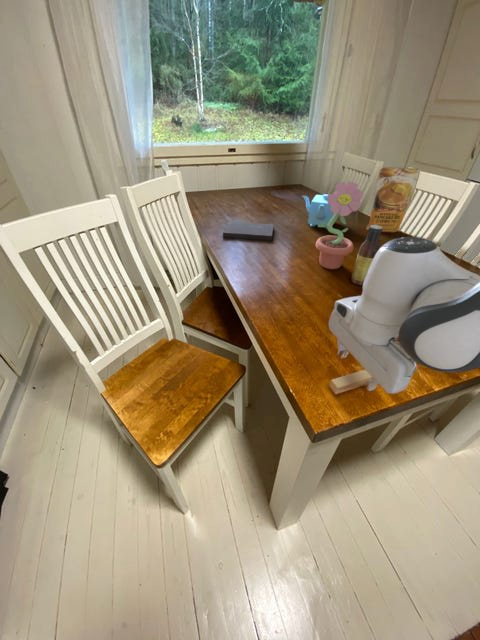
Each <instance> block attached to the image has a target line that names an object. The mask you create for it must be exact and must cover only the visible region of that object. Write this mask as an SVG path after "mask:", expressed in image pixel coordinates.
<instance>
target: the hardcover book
mask: <svg viewBox="0 0 480 640" xmlns="http://www.w3.org/2000/svg"><path fill="white" fill-rule="evenodd" d="M274 227H275V224H274V223H259V222H245V221H244V222H243V221H228V222H227V225H226V227H225V229H224V230H223V232H222V237H223V238H229V239H230V238H231V239H245V240H258V241H273V234H274Z"/></svg>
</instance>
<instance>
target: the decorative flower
mask: <svg viewBox="0 0 480 640" xmlns="http://www.w3.org/2000/svg"><path fill="white" fill-rule="evenodd" d="M362 199H363V192H362V190H361V189H359V188H358V183H356V182H354V181H348V182H347V183H346V182H345V181H342V182H339V183H337V184H336V186H335V190H334V192H333V193H329V194H328V197H327V202H328V204H331V208H330V210H331V211H332V212H333V213H334V216H333V217H332V219H331V220H330V221H329V223H325V222H324V223H321V224H319V225H317V228H324V227H325V226H327V225H328V226H327V228H326V230H327V231H328V232H329V233H331V234H334V235H330V234H329V235H324V236H321V237H319V238H318V239H317V240H316V241H315V247H316V249H317V250H318V251H319V259H318V263H319V265H320V267H322V268H325V269H328V270H337V269H339V268H340V267H341V266H342V265H343V262H344V260H345V258H346V257H345V256H347V255H349V254H351V253H352V252H353V250H354V248H355V247H354V243H353V242H352V240H350V239H348V238H346V237H344V233H345V232H347V231H349V228H348V227H346V228H344V229H342V230H341V229H337V228H334V227H333V225H334V224H335V222H336V221H337V219H338V218H339V220H340V222H341V223H342V224H343V225H347V221H346V218H345V217H347V216H349V215H350V214H352V213H353V212H356V211H358V210H359V209H360V207H361V206H362V203H361V201H362Z"/></svg>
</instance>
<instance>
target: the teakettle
mask: <svg viewBox="0 0 480 640" xmlns="http://www.w3.org/2000/svg"><path fill="white" fill-rule="evenodd" d="M328 195H329V194H328V193H327V194H326V193H324V194H315V195H314V197H313V199H311V201H310V199H309V197H308V196H307V195H301V197H302V198H303V199H304V202H305V207H306V211H307V212H308V217H307V218H308V219H307V224H309V226H310V227H316V226H318V225H319V224H321V223H324V222H325V223H329V221H330V220H331V219H332V217H333V216H334V213H333V212H332V211H331V210H330V208H331V204H328V202H327V197H328ZM327 226H328V225H327ZM327 226H325V227H323V228H324V229H327Z"/></svg>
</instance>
